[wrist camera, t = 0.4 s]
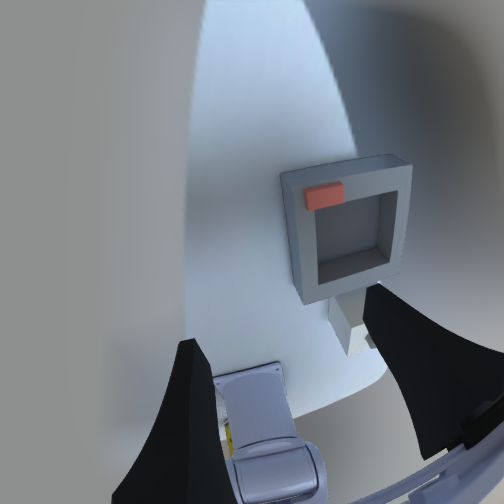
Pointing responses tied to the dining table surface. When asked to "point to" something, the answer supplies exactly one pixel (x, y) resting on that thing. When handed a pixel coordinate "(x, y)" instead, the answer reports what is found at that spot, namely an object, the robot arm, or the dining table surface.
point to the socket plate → (346, 223)
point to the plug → (350, 320)
